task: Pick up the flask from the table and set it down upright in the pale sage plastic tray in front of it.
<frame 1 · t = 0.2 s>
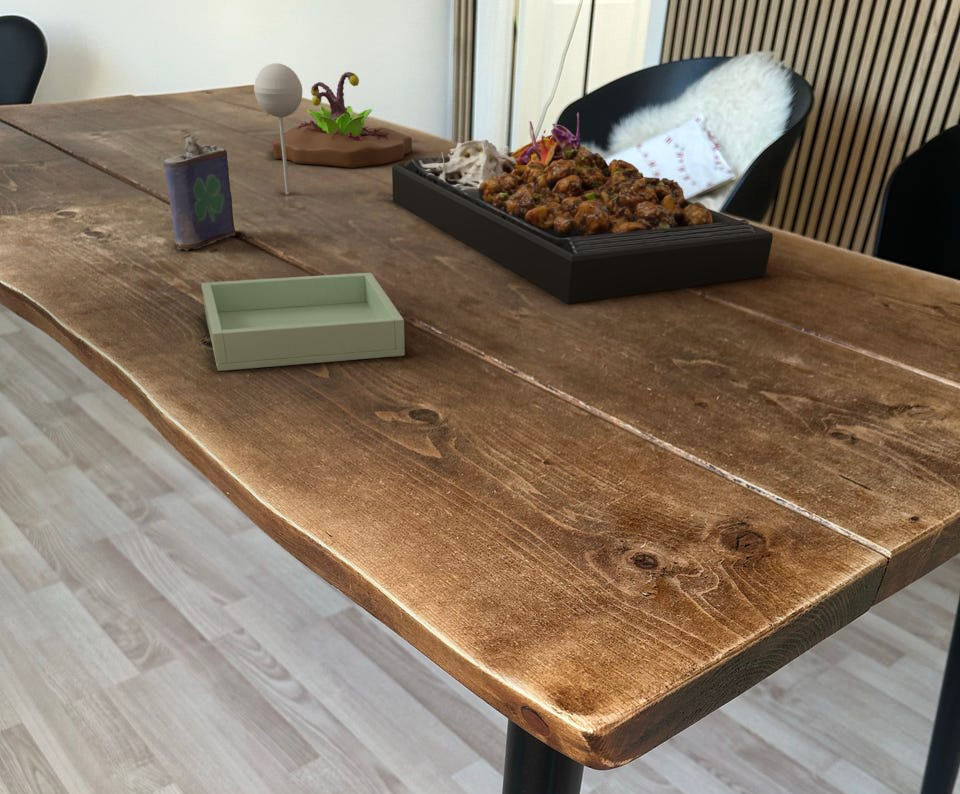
flask: (206, 242, 109), on the table
lollipop: (287, 195, 128), on the table
plant: (343, 155, 150), on the table
food platter: (560, 236, 115), on the table
tray: (301, 335, 85), on the table
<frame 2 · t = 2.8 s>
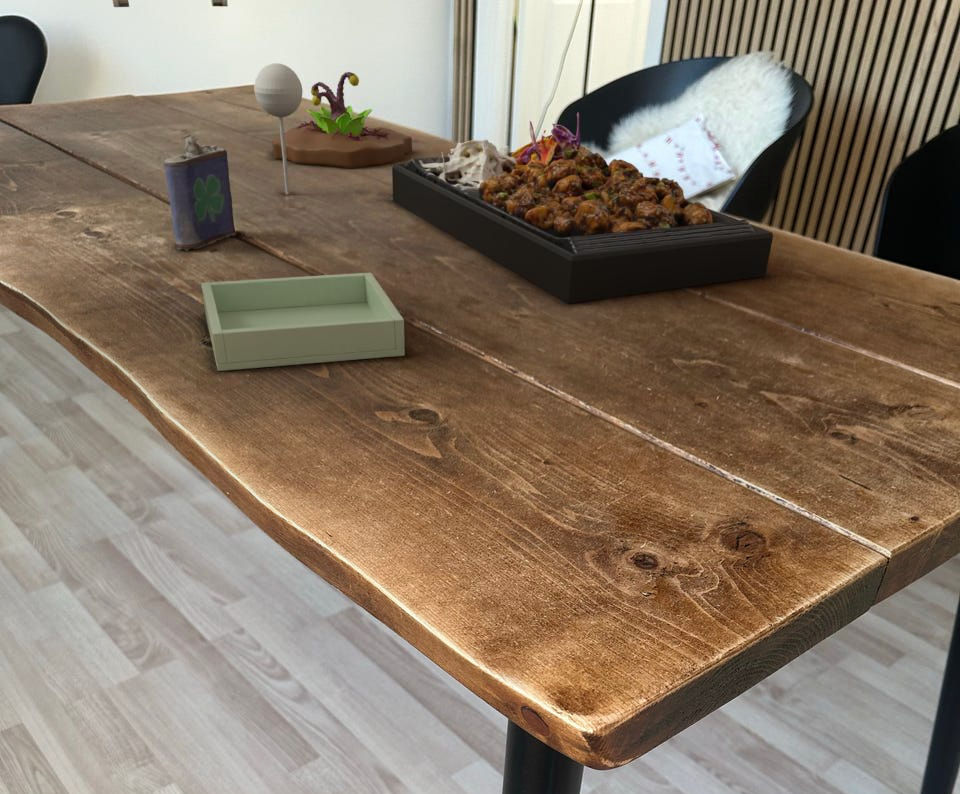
hand: (171, 6, 95), 22 cm above the table, tool pointing down, fingers open, 8 cm apart
nothing on the table moved.
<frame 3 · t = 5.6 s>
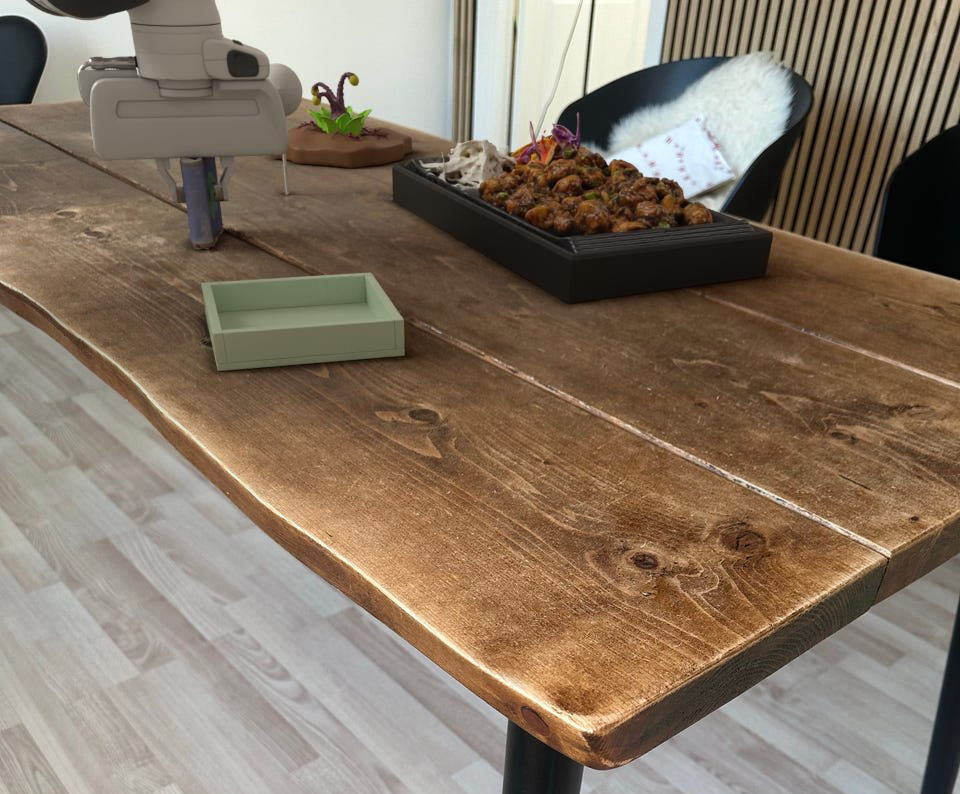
hand: (201, 201, 106), 4 cm above the table, tool pointing down, fingers closed on flask, 3 cm apart
flask: (207, 240, 110), on the table, touching gripper
everything else where it was.
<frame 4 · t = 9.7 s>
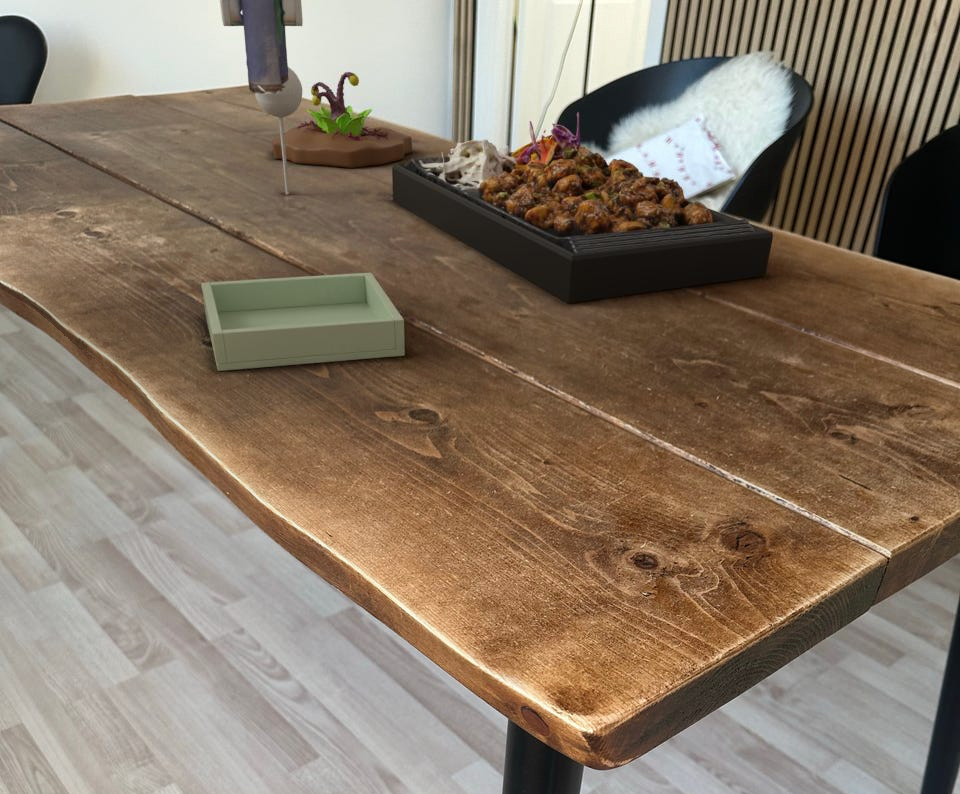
hand: (263, 25, 74), 23 cm above the table, tool pointing down, fingers closed on flask, 3 cm apart
flask: (269, 89, 77), point 19 cm above the table, touching gripper
everything else where it was.
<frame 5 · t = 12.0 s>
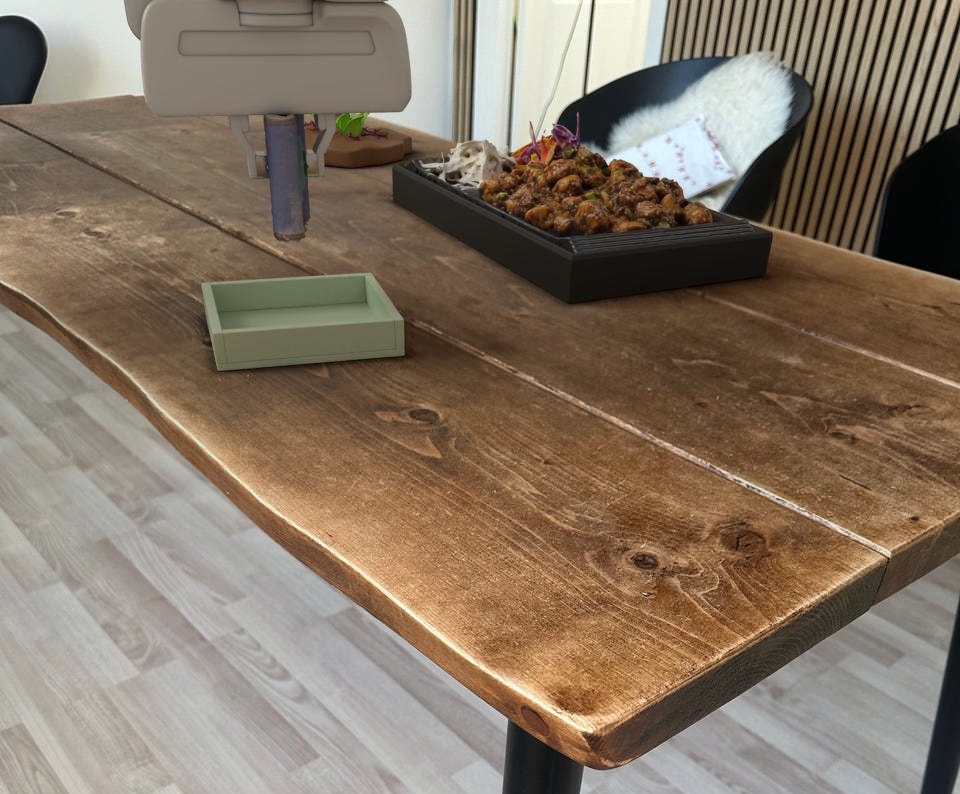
hand: (287, 176, 78), 13 cm above the table, tool pointing down, fingers closed on flask, 3 cm apart
flask: (292, 230, 81), point 9 cm above the table, touching gripper
everything else where it was.
when the fingers open (5 cm above the table, at t = 14.2 s): flask stays where it is, resting on tray.
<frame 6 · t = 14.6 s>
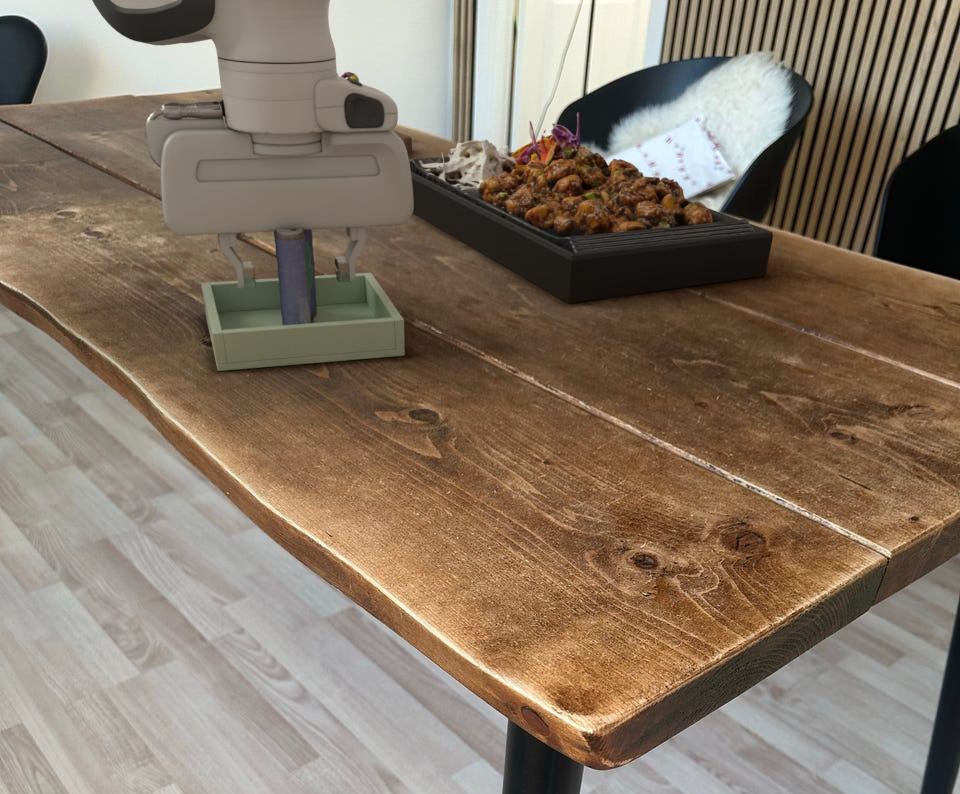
hand: (296, 283, 83), 5 cm above the table, tool pointing down, fingers open, 7 cm apart
flask: (300, 327, 86), resting on tray
everything else where it was.
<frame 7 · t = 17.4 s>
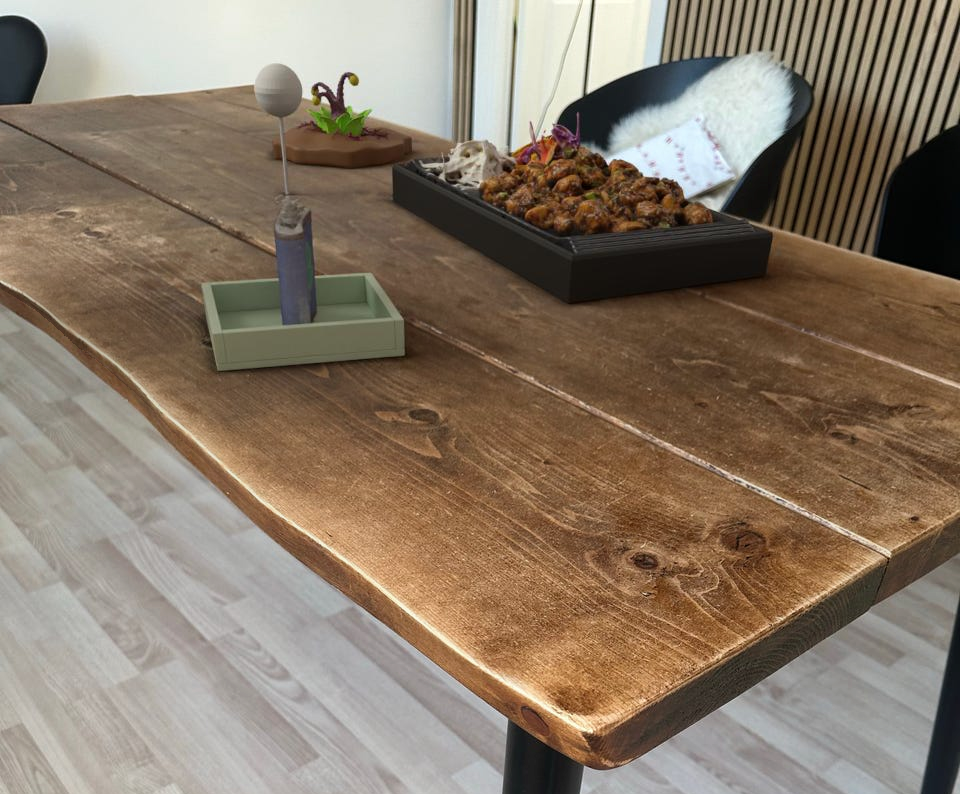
nothing on the table moved.
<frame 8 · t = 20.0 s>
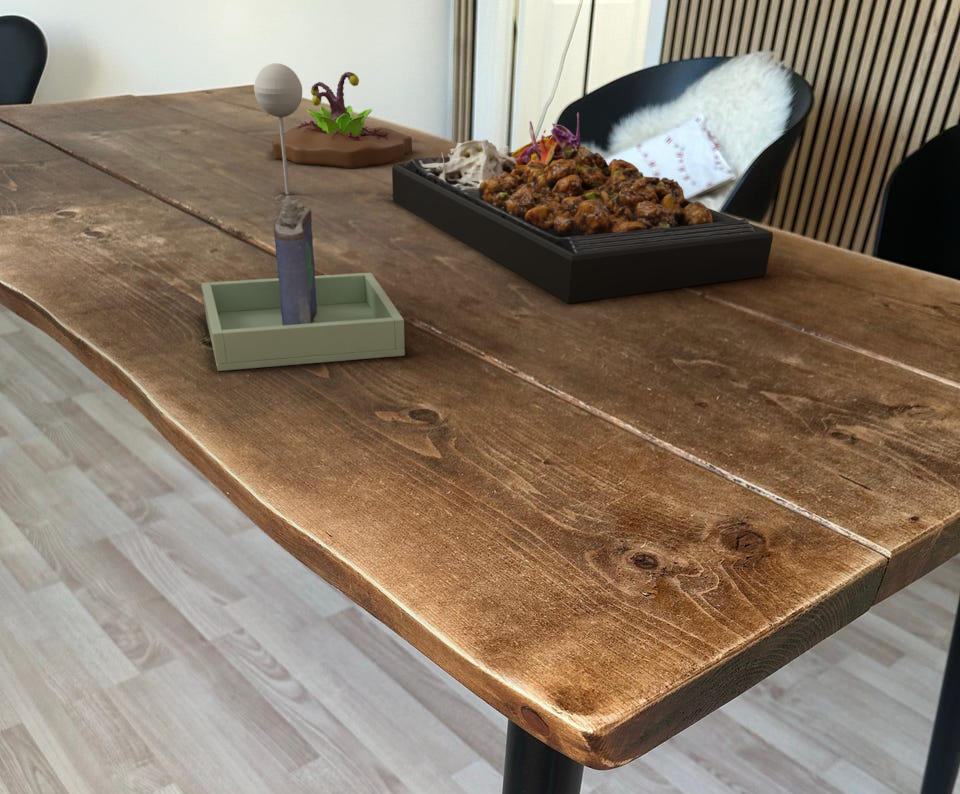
nothing on the table moved.
at the end: flask inside the target area in the tray (0.9 cm from its centre), point 0.4 cm above the tray's base; flask tilted 0° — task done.
